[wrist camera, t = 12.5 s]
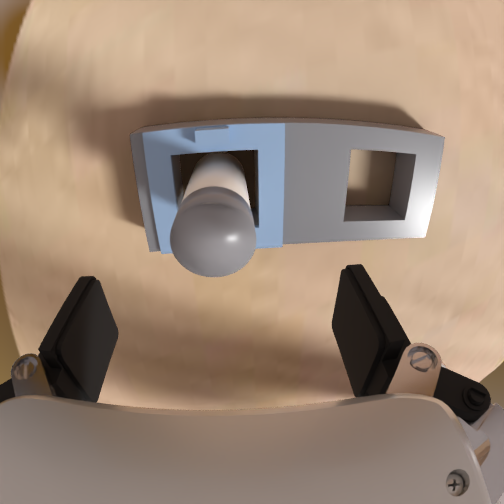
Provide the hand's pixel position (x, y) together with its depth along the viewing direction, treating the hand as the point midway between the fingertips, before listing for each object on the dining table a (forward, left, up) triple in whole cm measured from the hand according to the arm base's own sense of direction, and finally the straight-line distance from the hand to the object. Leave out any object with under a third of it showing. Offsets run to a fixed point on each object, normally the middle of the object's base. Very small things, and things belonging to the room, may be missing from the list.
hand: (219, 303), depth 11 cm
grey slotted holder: (-6, 0, -14) cm, 15 cm away
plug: (0, 0, -14) cm, 14 cm away
